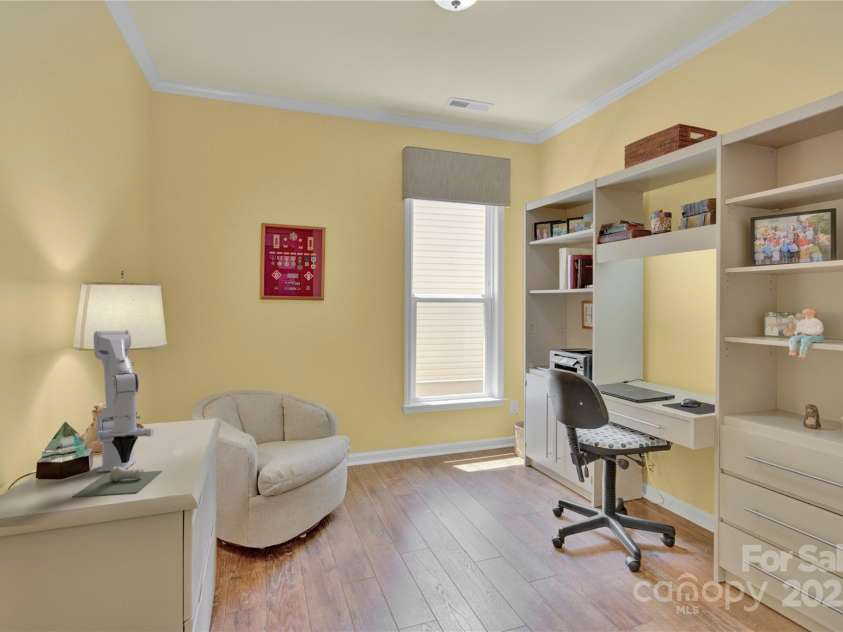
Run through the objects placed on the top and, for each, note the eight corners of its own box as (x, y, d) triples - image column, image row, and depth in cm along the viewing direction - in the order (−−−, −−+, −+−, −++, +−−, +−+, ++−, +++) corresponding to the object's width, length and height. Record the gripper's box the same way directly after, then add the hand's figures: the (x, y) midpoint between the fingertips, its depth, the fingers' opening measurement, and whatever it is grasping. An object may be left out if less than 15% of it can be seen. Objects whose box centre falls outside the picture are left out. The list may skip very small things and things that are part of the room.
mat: (105, 475, 145) (105, 474, 145) (161, 471, 147) (161, 470, 147) (72, 497, 127) (72, 496, 127) (137, 493, 130) (137, 492, 130)
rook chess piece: (113, 481, 139) (143, 480, 141) (107, 483, 135) (138, 483, 137) (116, 465, 140) (146, 465, 142) (110, 467, 136) (141, 467, 138)
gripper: (90, 419, 133) (90, 467, 133) (146, 417, 135) (146, 464, 135) (102, 414, 140) (103, 460, 140) (155, 412, 142) (156, 457, 142)
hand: (125, 461), depth 138 cm, fingers closed
